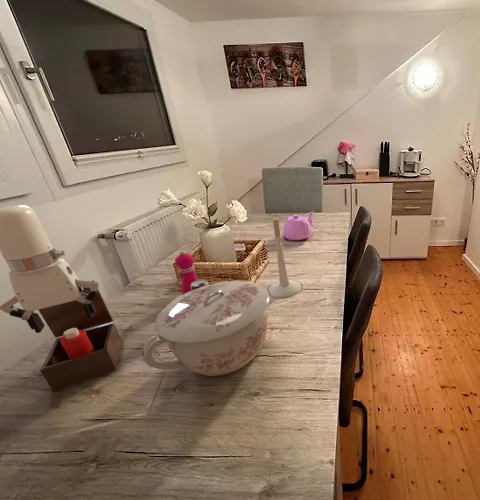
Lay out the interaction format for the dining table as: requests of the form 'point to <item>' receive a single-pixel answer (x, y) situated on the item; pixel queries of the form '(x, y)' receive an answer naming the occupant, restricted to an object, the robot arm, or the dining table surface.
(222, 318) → the chamber pot
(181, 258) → the pepper mill
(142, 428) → the dining table surface
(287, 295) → the candlestick
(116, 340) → the chest
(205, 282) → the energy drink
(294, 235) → the teapot
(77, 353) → the ketchup bottle
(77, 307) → the lid
